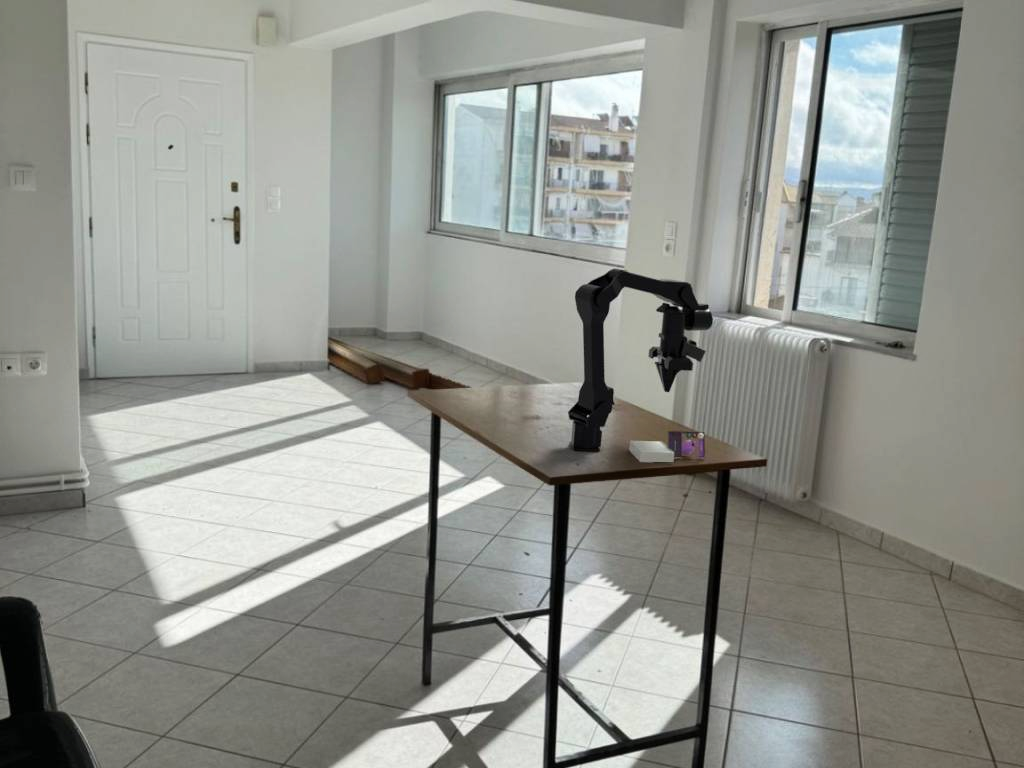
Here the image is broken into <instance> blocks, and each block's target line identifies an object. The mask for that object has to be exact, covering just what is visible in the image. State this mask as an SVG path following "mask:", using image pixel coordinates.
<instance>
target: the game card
mask: <svg viewBox="0 0 1024 768" xmlns="http://www.w3.org/2000/svg"><path fill="white" fill-rule="evenodd" d="M682 434H685V436H686V438H687V440H683V437H682ZM705 437H706V435H705V432H704V431H685V430H684V431H681V430H680V431H679V430H678V431H677V430H675V431H674V430H668V431H667V439H668V441H667V443H668V444H667V447H668V448H670V449H671V450H672V451H673V452H674V457H681V458H683V457H682V455H684V454H685V455H691V454H692V453H694V452H695V450H696V447H697V448H698V447H699V454H697V458H698V457H701V458H703V457H705V458H706V452H705V451H706V446H705V445H706V443H705V439H706V438H705ZM690 438H693V439H690ZM697 438H698V440H699V442H698V443H699V445H697V444H696V443H697V441H696V440H694V439H697ZM682 440H683V441H682Z"/></svg>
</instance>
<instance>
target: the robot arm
mask: <svg viewBox="0 0 1024 768" xmlns="http://www.w3.org/2000/svg"><path fill="white" fill-rule="evenodd" d="M624 288H628V289H632V290H635V291H640V292H643V293H648V294H651V295H653V296H655V297H656V298H658V299H659V300H662V301H664V302H663V303H662V304H661V305H660V306H658V307H657V308H655V309H656V310H655V311H656V312H658V313H662V321H661V332H659V333H658V338H660V342H659V346H652V347H650V349H648V358H650V359H653V360H654V358H657V361H654V365H655V367H656V370H657V373H658V377H659V379H660V382H661V384H662V388H663V391H664V392H665V393H670V391H671V389H672V386H673V384H674V382H675V379H676V376H677V374H679V373H680V372H681V371H685V372H686V371H689V372H690V371H691V372H692V371H693V370H694V369H693V368H694V362H693V361H692V360H691V359H694V360H696V361H697V362H699V363H701V362H702V360H703V358H704V356H705V354H706V352H707V350H705V349H703V348H701V347H698V345H697V342H696V341H694V340H692V339H688V337H687V336H686V335H685V331H688V332H689V331H690V332H691V331H708V330H710V329H711V327H712V325H713V323H714V322H713V321H714V318H713V315H712V312H711V311H710V309H709V307H710V305H709V304H708V303H699V302H698V299H696V296H695V294H694V292H693V291H694V290H693V287H692V284H691V282H690V283H689V282H687V281H681V280H675V279H669V278H668V279H667V278H666V279H663V278H661V279H658V278H657V279H656V278H652V277H648V276H645V275H642V274H637V273H634V272H630V271H627V270H626V269H621V268H612V269H610V270H608V271H607V272H605V273H604V274H603V275H601V276H598V277H596V278H594V279H592V280H590V281H589V282H588V283H585V284H582V285H581V286H579V287H578V289H577V290H576V291H575V293H574V301H575V305H576V306H575V307H576V311H577V314H578V315H579V318H580V319H581V322H582V337H583V338H582V339H583V341H582V342H583V344H582V345H583V373H584V374H583V375H584V376H583V378H584V379H583V380H584V381H583V384H582V385H581V387H580V389H579V391H578V400H577V402H575V404H574V405H572V407H571V408H570V409H569V410H568V412H567V415H568V419H569V420H570V421H572V426H571V427H572V430H571V440H570V441H569V442H568V443H569V445H570V447H571V448H572V450H573V451H583V452H584V451H585V452H601V449H600V448H601V447H602V437H603V431H602V430H601V428H604V427H605V426H606V423H607V421H608V419H609V415H610V414H611V413H612V411H613V406H615V401H614V394H615V390H614V388H613V387H609V386H608V385H607V383H606V381H605V379H606V378H605V375H606V374H605V337H604V335H605V332H604V328H605V326H604V323H605V321H606V319H607V317H608V315H609V314H610V313H609V312H610V309H611V307H610V306H611V303H612V302H613V301H614V300H616V299H617V298H618V296H619V295H620V294H621V292H622V290H623V289H624ZM670 304H672V305H670ZM688 357H689V358H688ZM690 358H691V359H690Z"/></svg>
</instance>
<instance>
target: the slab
mask: <svg viewBox="0 0 1024 768" xmlns="http://www.w3.org/2000/svg"><path fill="white" fill-rule="evenodd" d="M628 450H629V451H630V453H631V454H632V455H633V456H634V458H636V459H637V460H638V461H639V463H653V462H673V463H674V461H675V459H674V452H673V451H672V450H671V449H670V448H668V445H666V443H664V442H663V441H654V440H653V441H649V440H630V441H629V449H628Z"/></svg>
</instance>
